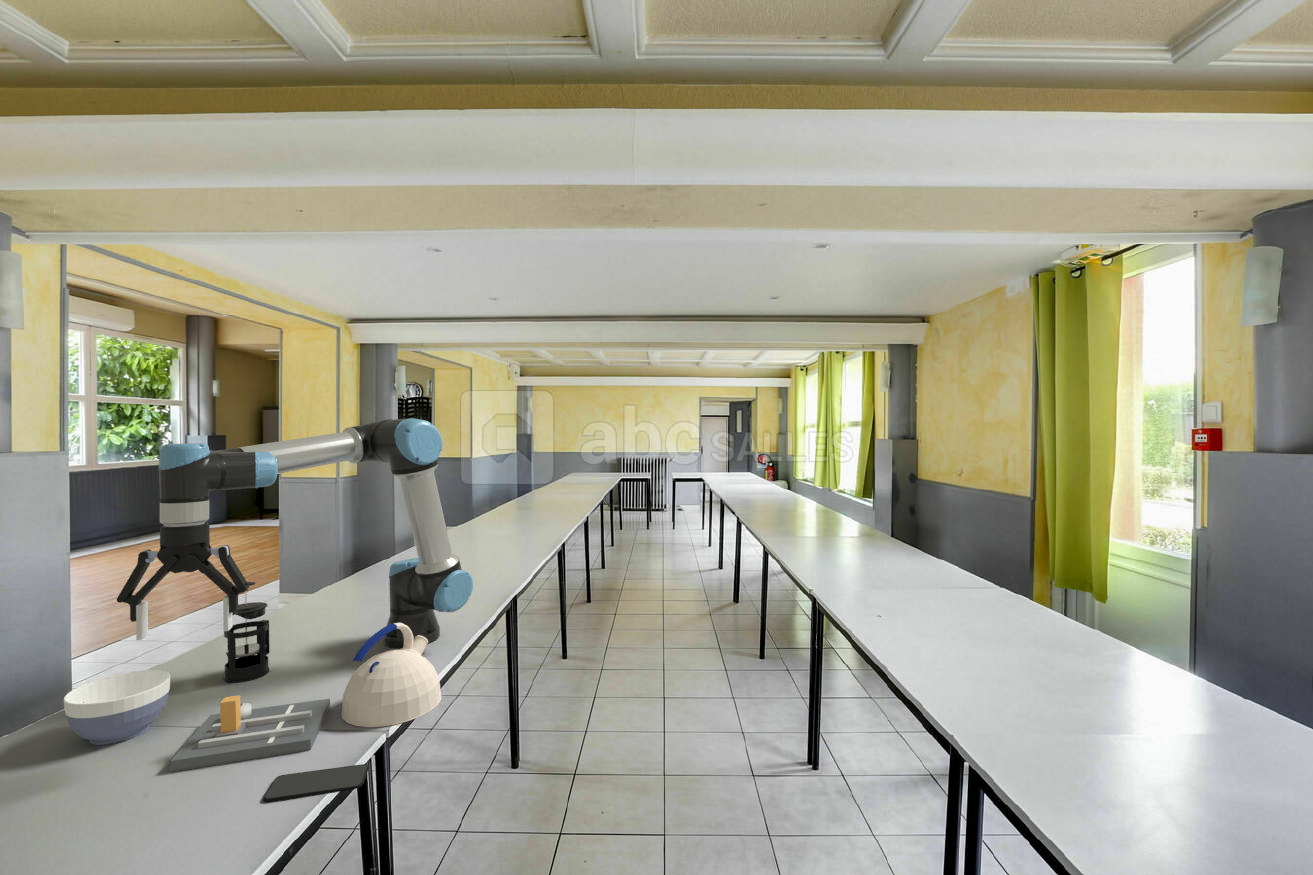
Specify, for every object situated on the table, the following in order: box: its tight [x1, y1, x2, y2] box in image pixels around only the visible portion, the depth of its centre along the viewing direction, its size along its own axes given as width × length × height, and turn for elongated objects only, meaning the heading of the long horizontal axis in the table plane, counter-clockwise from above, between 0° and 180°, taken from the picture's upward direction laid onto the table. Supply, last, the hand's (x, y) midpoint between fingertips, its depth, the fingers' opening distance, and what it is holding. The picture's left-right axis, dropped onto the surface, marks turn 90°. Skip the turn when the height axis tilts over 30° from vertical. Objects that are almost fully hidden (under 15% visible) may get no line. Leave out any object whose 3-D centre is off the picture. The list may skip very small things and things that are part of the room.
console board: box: [170, 698, 331, 773], centre depth 118 cm, size 22×18×4 cm
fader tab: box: [215, 694, 246, 738], centre depth 114 cm, size 4×4×7 cm
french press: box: [223, 581, 271, 684], centre depth 148 cm, size 12×9×23 cm
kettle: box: [340, 623, 442, 728], centre depth 131 cm, size 20×21×18 cm
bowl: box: [63, 669, 171, 746], centre depth 119 cm, size 16×16×10 cm
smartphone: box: [262, 763, 370, 804], centre depth 102 cm, size 7×1×15 cm
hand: (186, 633), depth 114 cm, fingers open, 13 cm apart
